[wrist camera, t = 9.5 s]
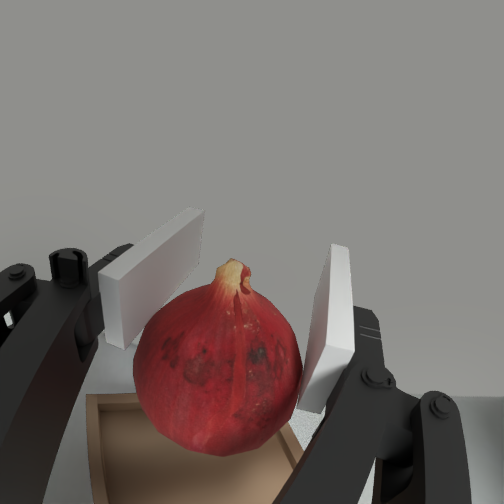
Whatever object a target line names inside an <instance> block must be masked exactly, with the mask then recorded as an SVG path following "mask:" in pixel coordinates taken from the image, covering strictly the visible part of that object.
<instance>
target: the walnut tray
mask: <svg viewBox="0 0 504 504" xmlns="http://www.w3.org/2000/svg"><path fill="white" fill-rule="evenodd" d="M86 425H87V444H88V458H89V469H90V478H91V486H92V494H93V501H94V504H272V503H273V501H274V500H275V498H276V497H277V495H278V494H279V492H280V490H281V489H282V487H283V486H284V484H285V483H286V481H287V480H288V478H289V476H290V475H291V473H292V472H293V470H294V468H295V467H296V465H297V463H298V462H299V460H300V458H301V457H302V455H303V453H304V451H303V449H302V447H301V445H300V443H299V442H298V440H297V438H296V436H295V434H294V432H293V430H292V429H291V427H290V425H289V423H288V422H287V423H286V424H285V425H284V426H283V427H282V428H281V429H280V430H279V431H278V432H276V433H275V434H274V435H273V436H272V437H271V438H270V439H269V440H268V441H266V442H265V443H264V444H263V445H262V446H261V447H260V448H258V449H255V450H251V451H247V452H243V453H239V454H234V455H230V456H226V457H219V456H214V455H208V454H203V453H198V452H194V451H189V450H187V449H185V448H183V447H182V446H180V445H178V444H177V443H175V442H173V441H172V440H170V439H169V438H167V437H166V436H164V435H162V434H161V433H159V432H158V431H157V430H156V428H155V427H154V425H153V424H152V423H151V421H150V420H149V418H148V417H147V416H146V414H145V413H144V411H143V410H142V407H141V405H140V402H139V399H138V396H137V393H125V394H86Z"/></svg>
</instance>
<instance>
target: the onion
mask: <svg viewBox="0 0 504 504" xmlns="http://www.w3.org/2000/svg"><path fill="white" fill-rule="evenodd" d="M250 276H251V272H250V269H249V267H247V266H245V265H244V264H243V263H241V262H239V261H237V260H235V259H232V258H231V259H230V260H229V261H228V262H227V263H226V264H224V265H222V266H220V267H218V268H217V271H216V276H215V279H214V281H213V282H212V283H211V284H208V285H205V286H201V287H198V288H195V289H192V290H190V291H187V292H185V293H183V294H181V295H179V296H177V297H176V298H175V299H173V300H172V301H171V302H169V303H168V304H166V305H165V306H164V307H163V308H161V309H160V310H159V311H158V312H157V313H155V314H154V315H153V316H152V318H151V319H150V320H149V322H148V323H147V324H146V326H145V328H144V331H143V333H142V336H141V339H140V341H139V344H138V347H137V350H136V353H135V356H134V359H133V377H134V382H135V387H136V392H137V396H138V399H139V402H140V405H141V407H142V410H143V411H144V413H145V414H146V416H147V417H148V418H149V420H150V421H151V423H152V424H153V425H154V427H155V428H156V430H157V431H158V432H159V433H161V434H162V435H164V436H166V437H167V438H169V439H170V440H172V441H173V442H175V443H177V444H178V445H180V446H182V447H183V448H185V449H187V450H189V451H194V452H198V453H203V454H208V455H214V456H219V457H226V456H230V455H234V454H239V453H243V452H247V451H251V450H255V449H258V448H260V447H261V446H262V445H263V444H264V443H265V442H266V441H268V440H269V439H270V438H271V437H272V436H273V435H274V434H275V433H276V432H278V431H279V430H280V429H281V428H282V427H283V426H284V425H285V424H286V423H287V422H288V421H289V420H290V419H291V416H292V414H293V411H294V408H295V406H296V403H297V399H298V395H299V391H300V387H301V381H302V374H303V365H302V361H301V356H300V353H299V348H298V344H297V341H296V337H295V334H294V332H293V330H292V328H291V326H290V324H289V323H288V322H287V320H286V319H285V318H284V316H283V315H282V314H281V313H280V312H279V310H278V309H277V308H276V307H275V306H274V305H273V304H272V303H271V302H270V301H269V300H268V299H266V298H265V297H264V296H262V295H260V294H259V293H257V292H256V291H254V290H252V288H251V286H250V284H249V279H250Z"/></svg>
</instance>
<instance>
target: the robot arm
mask: <svg viewBox="0 0 504 504" xmlns="http://www.w3.org/2000/svg"><path fill="white" fill-rule="evenodd" d="M204 213H205V211H204V210H200V209H196V208H192V207H188V208H187V209H185V210H184V211H182V212H181V213H179V214H178V215H177V216H175V217H174V218H172V219H171V220H169V221H168V222H166V223H165V224H163V225H162V226H161V227H159V228H158V229H156V230H155V231H153V232H152V233H151V234H150V235H148V236H146V237H145V238H144V239H142V240H141V241H139V242H138V243H137V244H136V245H133V244H130V243H129V244H126V245H123V246H120V247H117V248H116V249H114V250H113V251H111V252H110V253H109V254H107V255H106V256H104V257H103V259H100V260H99V261H97V262H96V263H95V264H93V265H92V266H90V267H89V268H88V259H87V255H86V253H85V252H84V251H82V250H79V249H76V248H65V249H60V250H57V251H54V252H53V253H51V254H50V255H49V260H50V267H51V273H52V280H51V281H46V280H39V279H36V276H35V271H34V268H33V267H31V266H30V265H28V264H22V263H21V264H20V263H19V264H16V265H12V266H10V267H8V268H6V269H5V270H3V271H2V272H0V504H42V502H43V498H44V495H45V491H46V488H47V484H48V481H49V477H50V474H51V471H52V467H53V464H54V461H55V458H56V455H57V452H58V449H59V446H60V443H61V440H62V437H63V434H64V431H65V428H66V426H67V423H68V420H69V417H70V415H71V412H72V409H73V407H74V404H75V401H76V399H77V396H78V394H79V391H80V389H81V386H82V384H83V381H84V379H85V376H86V374H87V372H88V369H89V367H90V365H91V362H92V360H93V358H94V355H95V353H96V351H97V348H98V337H97V336H98V335H99V334H100V333H101V332H102V331H103V330H104V332H105V338H106V342H107V343H109V344H112V345H114V346H116V347H118V348H120V349H123V350H125V349H126V348H127V347H128V346H129V345H130V343H131V342H132V341H133V340H134V338H135V337H136V336H137V335H138V334H139V332H140V331H141V330H142V329H143V328H144V327H145V325H146V324H147V323H148V322H149V320H150V319H151V318H152V316H153V315H154V314H155V313H156V312H157V311H158V310H159V309H160V308H161V307H162V305H163V304H164V303H165V302H166V301H167V300H168V298H169V297H170V296H171V295H172V294H173V293H174V291H175V290H176V289H177V288H178V287H179V286H180V285H181V283H182V282H183V281H184V280H185V279H186V278H187V277H188V275H189V274H190V273H191V272H192V271H193V270H194V268H195V267H196V266H197V265H198V264H199V255H200V246H201V238H202V229H203V221H204ZM8 312H9V313H10V316H11V319H12V322H13V324H12V325H10V326H7V325H6V322H5V319H4V315H5V314H7V313H8ZM379 331H380V328H379V321H378V319H377V317H376V316H375V314H374V313H373V312H372V310H368V309H364V308H360V307H356V306H353V300H352V285H351V272H350V261H349V249H348V248H347V247H344V246H340V245H336V244H333V243H332V244H331V246H330V250H329V253H328V256H327V259H326V263H325V266H324V269H323V272H322V276H321V279H320V282H319V285H318V288H317V291H316V294H315V298H314V305H313V312H312V320H311V326H310V333H309V340H308V346H307V352H306V358H305V364H304V370H303V375H302V381H301V387H300V392H299V397H298V403H297V408H296V409H300V410H304V411H309V412H313V413H318V414H321V412H322V410H323V409H324V407H325V405H326V410H325V416H324V418H323V420H322V421H321V423H320V424H319V426H318V428H317V429H316V431H315V432H314V434H313V435H312V439H311V441H310V443H309V444H308V446H307V448H306V450H305V451H304V453H303V455H302V457H301V458H300V460H299V462H298V463H297V465H296V467H295V468H294V470H293V472H292V473H291V475H290V476H289V478H288V480H287V481H286V483H285V484H284V486H283V487H282V489H281V490H280V492H279V494H278V495H277V497H276V498H275V500H274V501H273V503H272V504H357V503H358V501H359V499H360V496H361V494H362V491H363V489H364V487H365V484H366V481H367V479H368V476H369V474H370V471H371V468H372V465H373V463H374V460H375V457H376V461H375V474H374V486H373V496H372V504H472V502H471V489H470V478H469V469H468V461H467V454H466V447H465V441H464V435H463V429H462V423H461V418H460V413H459V410H458V407H457V405H456V403H455V402H454V401H453V400H452V398H450V397H449V396H447V395H446V394H444V393H442V392H439V391H429V392H427V393H425V394H424V395H423V396H422V398H421V399H418V398H416V397H414V396H411V395H409V394H407V393H405V392H403V391H401V390H399V389H398V388H397V387H396V381H395V379H394V377H393V375H392V374H391V372H389V370H388V369H386V368H385V365H384V357H383V350H382V342H381V334H380V332H379Z"/></svg>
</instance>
